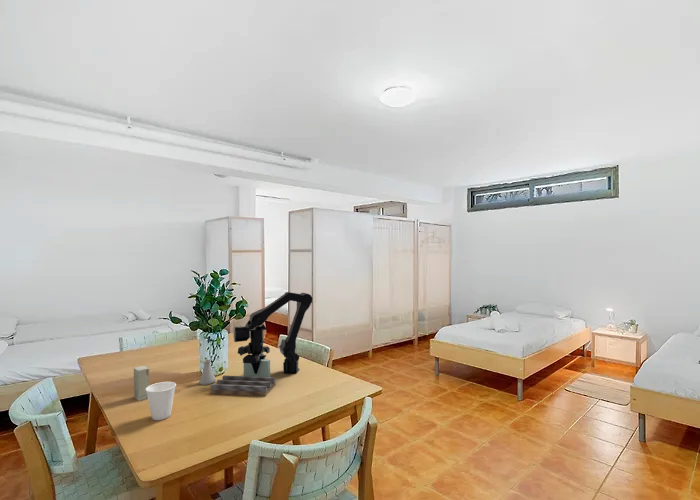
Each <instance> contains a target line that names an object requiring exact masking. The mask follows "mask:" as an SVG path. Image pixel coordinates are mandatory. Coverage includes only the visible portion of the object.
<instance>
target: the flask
mask: <svg viewBox="0 0 700 500" xmlns="http://www.w3.org/2000/svg"><path fill="white" fill-rule="evenodd" d="M202 362H203V368H202V373H201V376H200V377H199V381H198V385H202V386H205V385H206V386H207V385H211V384H215V382H217V379H216V376H215V374H214V372H213V369H212V366H211V362H212V359H204V360H203V361H202Z"/></svg>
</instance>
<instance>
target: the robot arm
mask: <svg viewBox="0 0 700 500" xmlns="http://www.w3.org/2000/svg"><path fill="white" fill-rule="evenodd" d="M313 301H314V300H313V296H312V295H311V294H309V293H307V292H301V293H296V292H290V291H286V292H284V294H282V295H280V296H279V297H278V298H277V299H275V300H274V301H272V302H270V304H268V305H267V306H265V307H263V308H261V309H258V310H255V311H254V312H252V313H251V314H250V315H249V319H248V321H247V323H246V324H245V325H244V326H234V329H233V342H234V343H239V342H246V341H248V340H249V339H250V341H249V342H248V344H247V345H243V346H242V345H241V346H240V347H238V349H237V354H238V355H240V356H243V355H245V354H246V355H245V356H244V357H243V358H242V363H243V364H244V363H251V364H252V367H253V370H254V373H255V374H257V373H258V369H259V366H260V363H261V359H266V358H267V354H269V353H270V352H271V351H270V347H269V346H267V345H266V346H264V344H265V340H264V331H265V330H266V331H267V330H268V327H266V326H265V324H264V323H266V321H267V320H268V318H269V317H270V316H271V315H272V314H274V313H275V312H276V311H277V310H279V309H281V308H282V307H284V305H286V304H288V303H289V302H296V310H295V314H294V316H293V319H292V322H291V324H290V327H289V328H290V329H289V330H288V333H287V337H285V339H283V338H282V339H281V342H280V345H279V352H280V354H281V355H282V356H283V357H284V358H285V359H284V362H283V365H282V366H283V367H282V368H283V372H282V373H283V374H292V375H294V374H297V373H298V372H299V371H300V368H299V360H300V355H299V354H298V353H297V352H296V350H297V349H296V347H297V337H298V334H299V332H300V329H301V326H302V323H303V320H304V317H305V314H306V312H307V311H308V310H309V308H310V307H311V305H312V303H313ZM264 353H266V354H264Z"/></svg>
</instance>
